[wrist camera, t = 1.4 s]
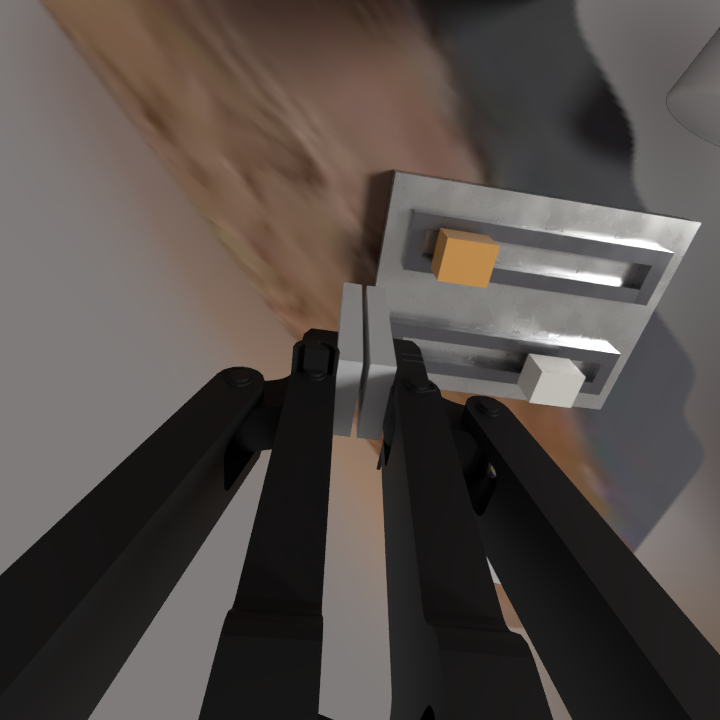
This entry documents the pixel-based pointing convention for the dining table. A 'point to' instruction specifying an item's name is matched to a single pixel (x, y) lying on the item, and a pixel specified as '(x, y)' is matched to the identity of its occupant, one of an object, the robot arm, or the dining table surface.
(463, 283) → the block
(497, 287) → the console
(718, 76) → the mug
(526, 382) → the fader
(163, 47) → the dining table surface
